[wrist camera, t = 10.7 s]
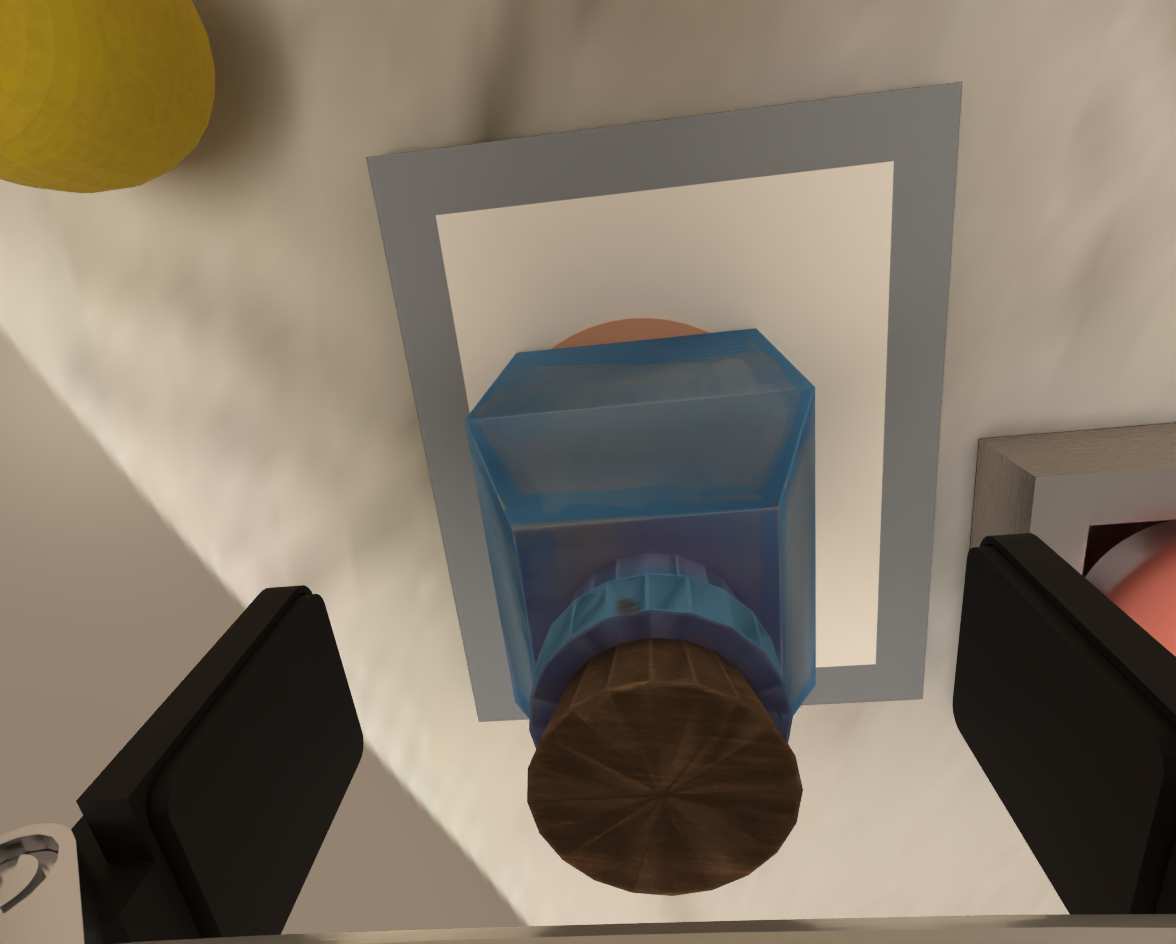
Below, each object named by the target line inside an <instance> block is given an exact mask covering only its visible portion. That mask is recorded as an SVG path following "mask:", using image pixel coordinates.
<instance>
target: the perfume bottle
mask: <svg viewBox="0 0 1176 944" xmlns="http://www.w3.org/2000/svg"><path fill="white" fill-rule="evenodd" d="M465 426H466V432H467V437H468V443H469V448H470V454H471V459H472V465H473V471H474V476H475V482H476V487H477V493H478V498H479V504H480V510H481V515H482V521H483V526H484V532H485V537H486V543H487V549H488V554H489V560H490V565H491V571H492V576H493V582H494V588H495V593H496V599H497V604H498V610H499V615H500V621H501V627H502V632H503V638H504V643H505V649H506V654H507V660H508V666H509V671H510V677H511V682H512V688H513V693H514V699H515V703H516V704H517V705H518V706H519V707H520V709H521V710H522V711H523V712H524V713H525V715H526V716H527V717H528V718H529V719H530V722H529V731H530V734H531V736H532V739H533V742H534V744H535V747H536V751H535V754H534V756H533V758H532V760H531V763H530V765H529V767H528V793H527V802H528V805H529V807H530V810H531V812H532V815H533V818H534V820H535V823H536V825H537V828H538V830H539V833H540V834H541V835H542V836H543V838H544V839H545V840H546V841H547V842H548V843H549V845H550V846H551V847H552V848H553V849H554V850H555V852H556V853H557V854H558V855H559V856H560V857H561V858H562V860H564V861H565V862H567V863H568V864H570V865H572V866H573V867H575V868H576V869H578V870H579V871H581V872H583V873H584V874H586V875H587V876H589V877H590V878H592V879H594V880H596V881H599V882H602V883H605V884H608V885H611V886H614V887H617V888H620V889H623V890H626V891H629V892H633V893H645V894H657V895H669V896H674V895H681V894H688V893H695V892H702V891H708V890H713V889H716V888H718V887H721V886H723V885H726V884H728V883H730V882H733V881H735V880H738V879H740V878H743V877H745V876H747V875H749V874H750V873H752V872H753V871H754V870H755V869H757V868H758V867H759V866H761V865H762V864H763V863H764V862H766V861H767V860H768V859H769V858H771V857H772V856H773V855H775V854H776V853H777V852H778V850H779V849H780V847H781V846H782V844H783V843H784V841H785V840H786V838H787V837H788V835H789V834H790V832H791V830H792V829H793V827H794V826H795V824H796V822H797V817H798V812H799V807H800V801H801V796H802V791H803V789H802V784H801V780H800V775H799V770H798V766H797V761H796V757H795V755H794V753H793V751H792V750H791V748H790V747H789V745H788V740H789V735H790V729H791V724H792V718H793V715H794V714H795V713H796V711H797V710H798V709H799V707H800V706H801V705H802V703H803V702H804V700H805V699H806V698H807V696H808V695H809V694H810V692H811V691H812V690H813V688H814V687H815V686H816V524H815V386H814V385H813V384H812V383H811V382H810V381H809V380H808V379H807V378H806V377H805V376H804V375H803V374H802V373H801V372H800V371H799V370H798V369H797V368H796V367H795V366H794V365H793V364H792V363H791V362H790V361H789V360H788V359H787V358H786V357H785V356H784V355H783V354H782V353H781V352H780V351H779V350H778V349H777V348H776V347H775V346H774V345H773V344H772V343H771V342H770V341H769V340H768V339H767V338H766V337H765V336H764V335H763V334H762V333H761V332H760V331H759V330H758V329H757V328H755V329H745V330H735V331H725V332H716V333H706V334H696V335H686V336H677V337H667V338H657V339H647V340H637V341H628V342H618V343H608V344H598V345H589V346H579V347H569V348H559V349H549V350H540V351H530V352H520V353H516V354H515V355H514V357H513V358H512V359H511V360H510V362H509V363H508V364H507V366H506V367H505V368H504V369H503V371H502V372H501V373H500V375H499V376H498V377H497V379H496V380H495V381H494V382H493V384H492V385H491V386H490V388H489V389H488V390H487V392H486V393H485V394H484V395H483V397H482V398H481V399H480V401H479V402H478V403H477V405H476V406H475V407H474V408H473V410H472V411H471V412H470V414H469V415H468V416H467V418H466V419H465Z"/></svg>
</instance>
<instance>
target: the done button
mask: <svg viewBox="0 0 1176 944" xmlns="http://www.w3.org/2000/svg"><path fill="white" fill-rule="evenodd" d="M1085 578H1086V579H1087V580H1088V581H1089V582H1090V583H1092V584H1093V585H1094V586H1095V587H1096V588H1097V589H1098V590H1100V591H1101V592H1102V593H1103V594H1104V595H1105V596H1106V597H1108V598H1109V599H1110V600H1111V601H1112V602H1113V603H1114V604H1116V605H1117V606H1118V607H1119V608H1120V609H1121V610H1123V611H1124V612H1125V613H1126V614H1127V615H1128V616H1129V617H1131V618H1132V619H1133V620H1134V621H1135V622H1136V623H1137V624H1139V625H1140V626H1141V627H1142V628H1143V629H1144V630H1145V631H1147V632H1148V633H1149V634H1150V635H1151V636H1152V637H1154V638H1155V639H1156V640H1157V641H1158V642H1159V643H1160V644H1162V645H1163V646H1164V647H1165V648H1166V649H1167V650H1168V651H1170V652H1171V653H1172V654H1173V655H1174V656H1175V657H1176V520H1172V521H1168V522H1163V523H1160V524H1157V525H1154V526H1151V527H1148V528H1146V529H1144V530H1142V531H1139V532H1137V533H1135V534H1133V535H1132V536H1130V537H1128V538H1126V539H1125V540H1123V541H1121V542H1120V543H1119V544H1117V545H1116V546H1114V547H1113V548H1112V549H1110V550H1109V551H1108V552H1107V553H1106V554H1105V555H1104V556H1103V557H1101V558H1100V559H1099V561H1098V562H1097V563H1096V564H1095V565H1094V566H1093V567H1092V568H1091V570H1090V571H1089V572H1088V574H1087V575H1086V577H1085Z"/></svg>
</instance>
